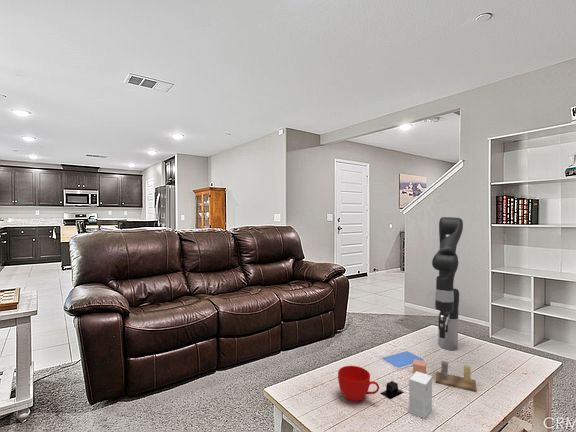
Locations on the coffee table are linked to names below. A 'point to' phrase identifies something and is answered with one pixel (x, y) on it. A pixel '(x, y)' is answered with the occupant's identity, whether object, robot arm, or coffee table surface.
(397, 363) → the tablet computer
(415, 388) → the small box
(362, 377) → the ceramic cup
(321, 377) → the coffee table surface
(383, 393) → the black knobbed base
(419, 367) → the salmon pink cube
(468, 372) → the brass post
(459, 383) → the board
